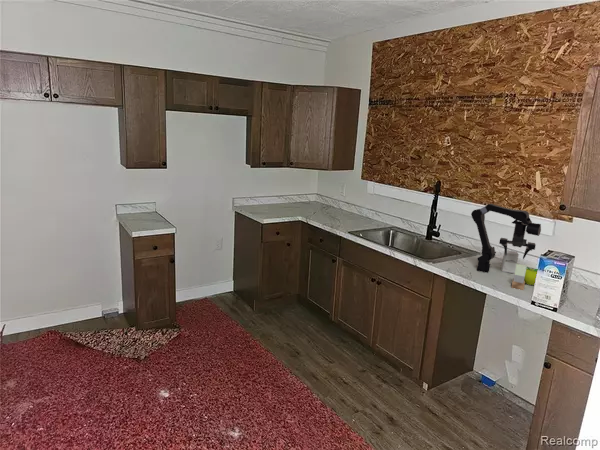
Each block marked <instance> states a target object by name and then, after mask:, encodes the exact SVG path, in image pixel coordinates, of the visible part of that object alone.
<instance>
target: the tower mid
mask: <svg viewBox="0 0 600 450" xmlns="http://www.w3.org/2000/svg"><path fill="white" fill-rule="evenodd" d="M513 278H514V280H513V279H512V281H514V282H519V283H524V278H525V276H520V275H515V274H514V276H513Z"/></svg>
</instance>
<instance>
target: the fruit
mask: <svg viewBox="0 0 600 450" xmlns="http://www.w3.org/2000/svg"><path fill="white" fill-rule="evenodd" d="M538 269H539V268H533V267H532V268H530V267H526V273H525V278H524V281H525V284H526V285H529V286H534V283H535V278H536V274H537V270H538Z"/></svg>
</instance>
